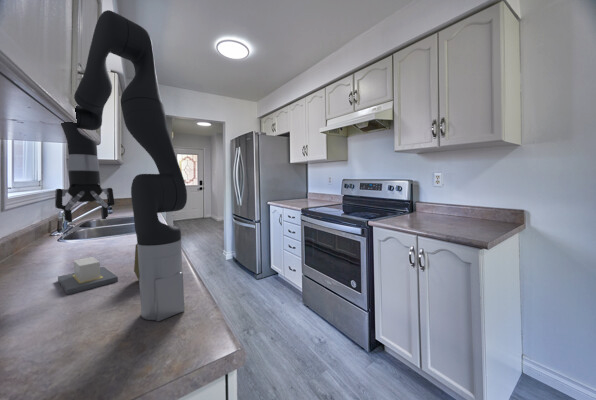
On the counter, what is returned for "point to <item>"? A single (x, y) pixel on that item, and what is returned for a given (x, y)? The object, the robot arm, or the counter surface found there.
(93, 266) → the block
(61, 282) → the board
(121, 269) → the counter surface
